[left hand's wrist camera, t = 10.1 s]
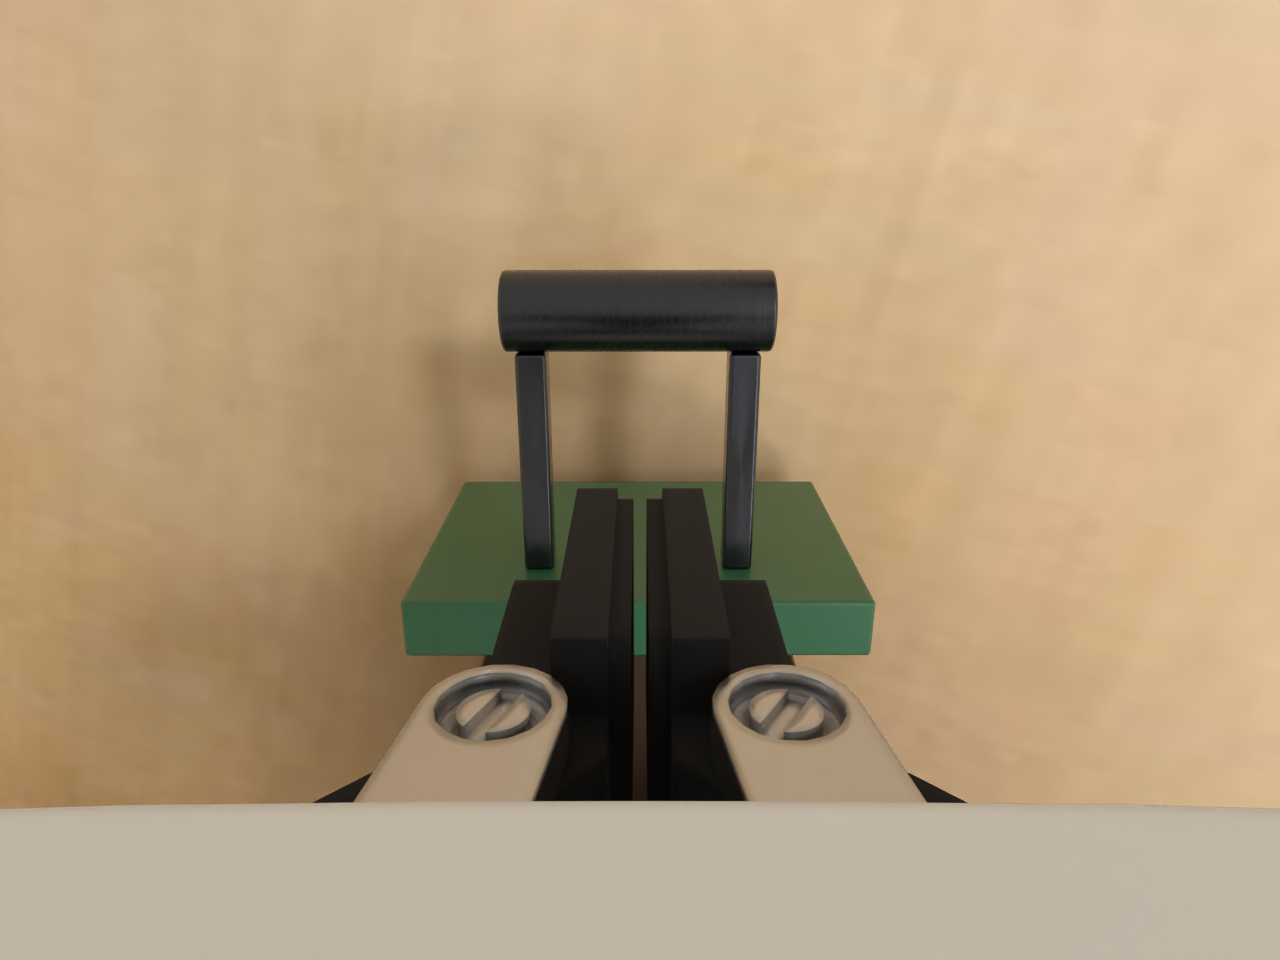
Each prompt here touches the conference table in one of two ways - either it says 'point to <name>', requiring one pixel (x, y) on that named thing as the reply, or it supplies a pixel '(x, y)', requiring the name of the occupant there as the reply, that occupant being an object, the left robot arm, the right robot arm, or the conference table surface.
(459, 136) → the conference table surface
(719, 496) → the drawer
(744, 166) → the conference table surface
